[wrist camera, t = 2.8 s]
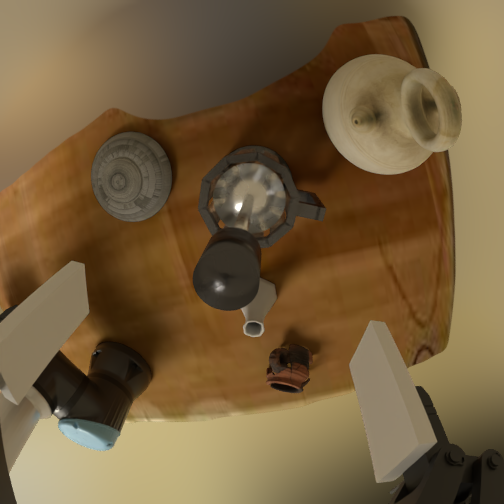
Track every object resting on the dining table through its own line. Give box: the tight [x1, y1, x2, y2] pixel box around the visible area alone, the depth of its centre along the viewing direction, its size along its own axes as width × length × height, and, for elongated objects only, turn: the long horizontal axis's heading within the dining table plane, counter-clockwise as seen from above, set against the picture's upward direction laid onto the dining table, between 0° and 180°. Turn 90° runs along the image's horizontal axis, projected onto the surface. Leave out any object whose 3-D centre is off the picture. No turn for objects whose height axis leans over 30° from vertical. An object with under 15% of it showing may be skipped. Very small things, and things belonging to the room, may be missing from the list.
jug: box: [322, 54, 462, 174], centre depth 28 cm, size 15×16×25 cm
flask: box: [241, 278, 277, 337], centre depth 48 cm, size 7×7×10 cm
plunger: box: [193, 163, 286, 311], centre depth 26 cm, size 8×8×21 cm
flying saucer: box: [91, 132, 172, 222], centre depth 43 cm, size 15×15×6 cm
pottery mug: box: [266, 344, 313, 393], centre depth 56 cm, size 12×10×8 cm
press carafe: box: [198, 146, 326, 248], centre depth 39 cm, size 15×12×13 cm
